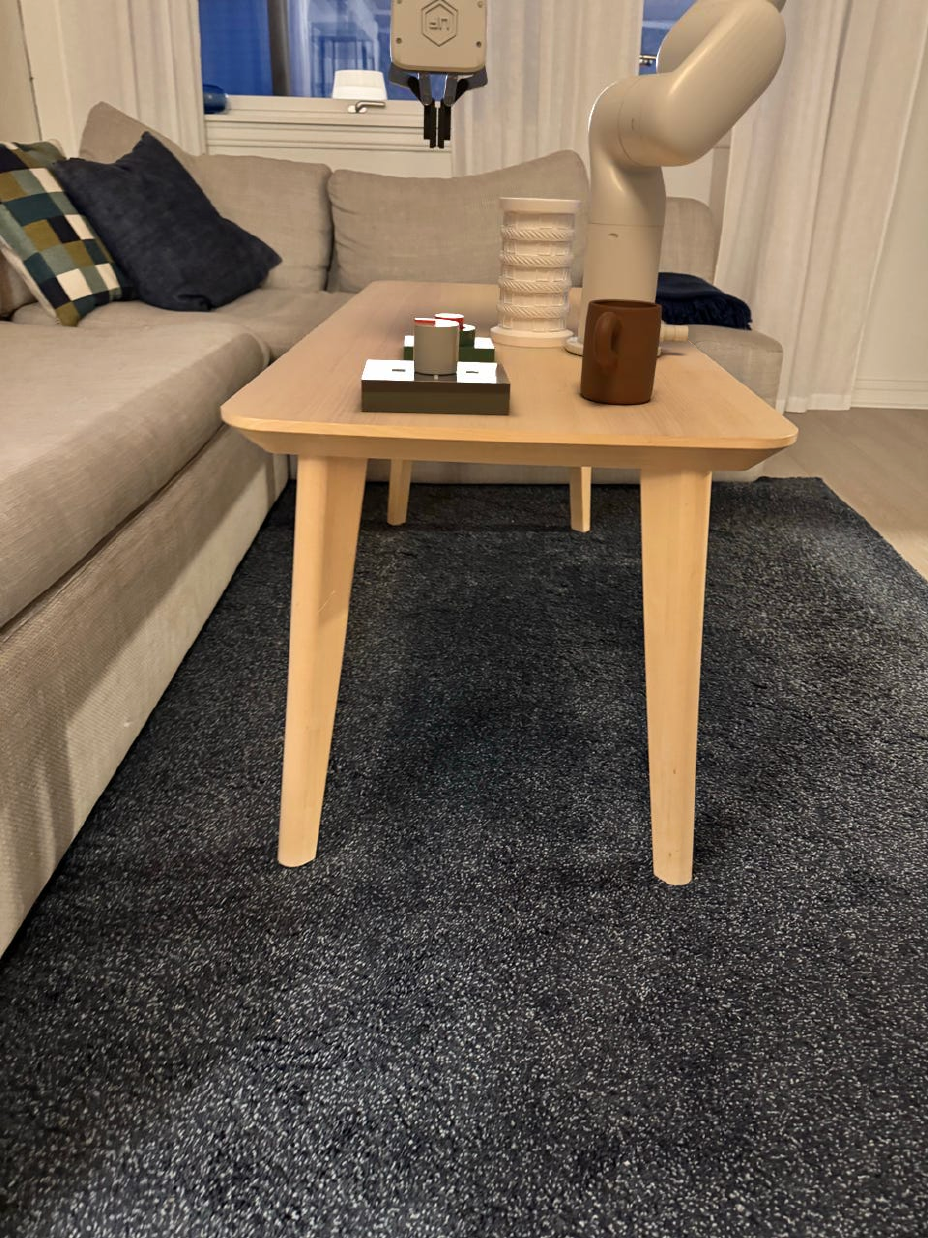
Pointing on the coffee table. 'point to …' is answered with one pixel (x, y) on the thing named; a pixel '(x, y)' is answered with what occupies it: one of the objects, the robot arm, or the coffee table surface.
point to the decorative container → (535, 271)
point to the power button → (451, 318)
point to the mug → (620, 350)
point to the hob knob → (435, 346)
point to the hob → (435, 389)
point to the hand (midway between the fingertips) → (436, 147)
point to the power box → (463, 347)
